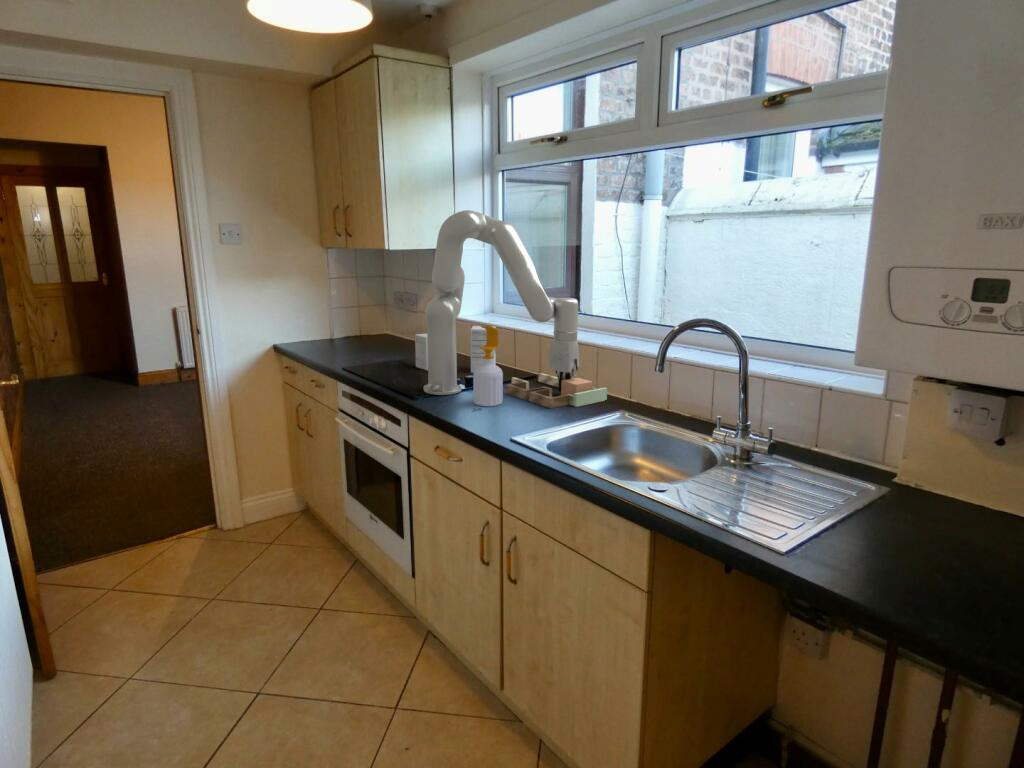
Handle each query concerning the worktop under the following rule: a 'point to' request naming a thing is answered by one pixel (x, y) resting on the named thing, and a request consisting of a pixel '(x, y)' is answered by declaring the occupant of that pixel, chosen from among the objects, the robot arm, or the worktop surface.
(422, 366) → the small box
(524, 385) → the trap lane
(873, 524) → the worktop surface
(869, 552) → the worktop surface
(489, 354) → the soap bottle
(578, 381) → the block
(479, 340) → the supplement box
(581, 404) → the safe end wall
